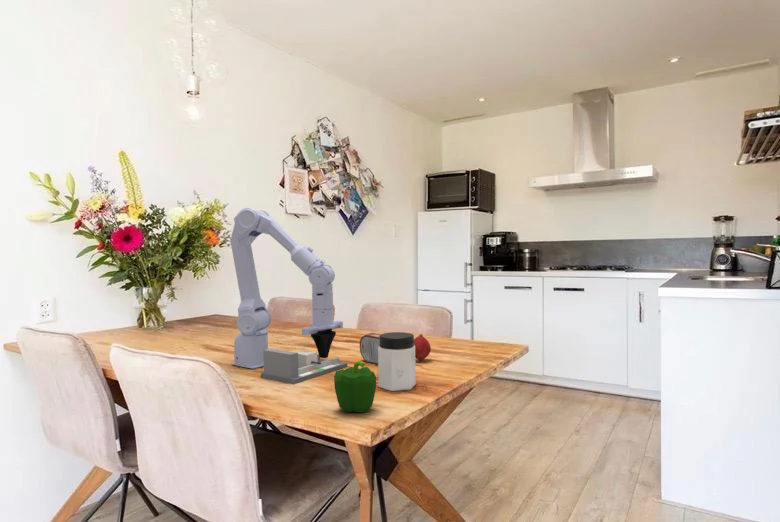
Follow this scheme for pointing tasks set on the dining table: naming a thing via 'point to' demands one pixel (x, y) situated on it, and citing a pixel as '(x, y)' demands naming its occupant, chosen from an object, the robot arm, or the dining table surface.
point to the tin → (370, 347)
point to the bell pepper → (355, 388)
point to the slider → (306, 358)
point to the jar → (396, 361)
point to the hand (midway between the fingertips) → (323, 357)
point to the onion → (421, 347)
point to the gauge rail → (295, 366)
